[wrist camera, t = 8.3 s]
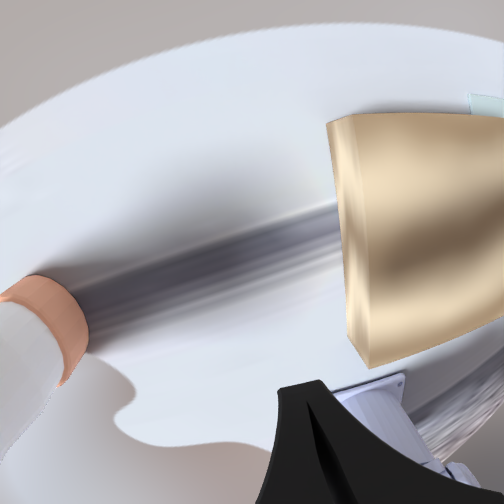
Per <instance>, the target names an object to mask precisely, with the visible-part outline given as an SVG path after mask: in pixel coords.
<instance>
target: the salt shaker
mask: <svg viewBox="0 0 504 504" xmlns="http://www.w3.org/2000/svg"><path fill="white" fill-rule="evenodd" d="M88 342H89V333H88V325H87V322H86V319H85V316H84V313H83V311H82V310H81V308H80V307H79V305H78V303H77V302H76V300H75V299H74V297H73V296H72V295H71V294H70V293H69V292H68V291H67V290H66V289H65V288H64V287H63V286H61V285H60V284H58V283H57V282H55V281H54V280H52V279H50V278H47V277H43V276H40V275H33V276H26V277H25V278H23V279H22V280H20V281H19V282H17V283H16V284H14V285H13V286H11V287H10V288H9V289H7V290H6V291H4V292H3V293H2V294H0V463H1V462H2V460H3V458H4V456H5V454H6V453H7V451H8V450H9V448H10V447H11V446H12V445H13V444H14V443H15V442H16V440H17V439H18V438H19V437H20V436H21V435H22V434H23V433H24V432H25V430H26V429H27V428H28V427H29V426H30V425H31V424H32V423H33V421H34V420H35V419H36V418H37V417H38V416H39V415H40V414H41V413H42V412H43V410H44V408H45V406H46V405H47V403H48V401H49V399H50V397H51V395H52V394H53V392H54V390H55V388H56V387H59V386H61V385H62V384H64V383H65V381H66V380H68V378H69V377H70V375H71V373H72V372H73V370H74V369H75V367H76V366H77V364H78V362H79V361H80V359H81V358H82V356H83V355H84V353H85V351H86V348H87V345H88Z"/></svg>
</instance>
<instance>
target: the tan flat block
mask: <svg viewBox="0 0 504 504" xmlns="http://www.w3.org/2000/svg"><path fill="white" fill-rule="evenodd" d="M326 127H327V133H328V139H329V145H330V152H331V158H332V165H333V172H334V179H335V187H336V194H337V203H338V211H339V220H340V230H341V240H342V251H343V263H344V277H345V292H346V312H347V336H348V338H349V339H350V341H351V343H352V344H353V346H354V347H355V349H356V350H357V352H358V353H359V355H360V356H361V358H362V360H363V361H364V363H365V364H366V366H367V367H368V369H372V368H375V367H378V366H381V365H385V364H388V363H391V362H394V361H397V360H400V359H402V358H405V357H408V356H411V355H414V354H416V353H419V352H422V351H424V350H427V349H430V348H432V347H435V346H437V345H440V344H442V343H445V342H447V341H450V340H452V339H454V338H457V337H459V336H461V335H464V334H466V333H468V332H471V331H473V330H475V329H477V328H479V327H481V326H484V325H486V324H488V323H490V322H492V321H494V320H496V319H498V318H500V317H502V316H504V118H501V117H491V116H480V115H467V114H448V113H374V114H354V115H349V116H346V117H343V118H341V119H338V120H335V121H332V122H329V123H326Z"/></svg>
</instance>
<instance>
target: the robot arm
mask: <svg viewBox="0 0 504 504" xmlns="http://www.w3.org/2000/svg"><path fill="white" fill-rule="evenodd" d="M405 378H406V377H405V375H404V374H403V373H398V374H396V375H393V376H390V377H387V378H384V379H381V380H378V381H375V382H372V383H368V384H365V385H362V386H358V387H355V388H352V389H348V390H345V391H341V392H337V393H334V394H332V393H331V392H330V390H329V389H328V388H327V387H326V385H325V384H324V383H323V381H321V380H319V379H318V380H314V381H310V382H306V383H301V384H297V385H292V386H288V387H283V388H280V389H279V390H278V391H277V394H278V422H277V429H276V435H275V441H274V446H273V450H272V454H271V458H270V462H269V466H268V470H267V473H266V476H265V479H264V482H263V485H262V488H261V490H260V493H259V496H258V498H257V500H256V503H255V504H504V495H503V494H502V493H500V492H495V491H491V490H486V489H482V488H481V486H480V485H479V483H478V482H477V480H476V478H475V477H474V476H473V474H472V473H471V472H470V470H469V469H468V468H467V467H466V466H465V465H464V464H462V463H454V462H450V463H449V464H447V465H446V466H445V468H444V466H443V465H442V463H441V461H440V460H439V458H436V459H435V458H434V456H433V455H432V453H431V452H430V450H429V448H428V447H427V445H426V444H425V442H424V440H423V439H422V437H421V436H420V434H419V433H418V431H417V429H416V428H415V426H414V425H413V423H412V422H411V420H410V418H409V417H408V415H407V414H406V412H405V411H404V409H403V408H402V406H401V403H402V397H403V391H404V385H405Z"/></svg>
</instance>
